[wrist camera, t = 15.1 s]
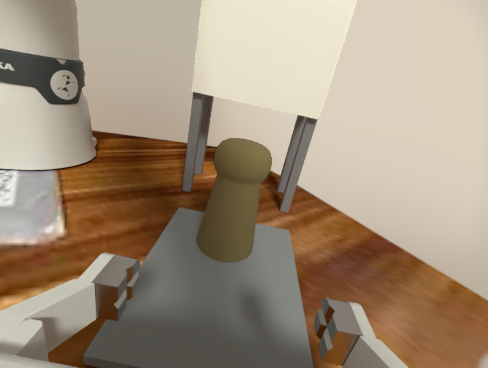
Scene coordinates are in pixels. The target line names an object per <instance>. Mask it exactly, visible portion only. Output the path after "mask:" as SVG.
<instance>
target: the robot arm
mask: <svg viewBox="0 0 488 368" xmlns="http://www.w3.org/2000/svg"><path fill="white" fill-rule="evenodd" d="M84 76H85V72H84V69H83V62H82V61H80V60H79V43H78V24H77V7H76V3H75V0H0V169H17V170H45V169H57V168H64V167H70V166H75V165H79V164H82V163H85V162H87V161H89V160H91V159H93V158H94V157H95V156H96V149H95V146H96V145H97V140H96V138H95V137H93V135H92V128H91V122H90V115H89V109H88V103H87V100H86V98H85V96H84V95H83V93H82V87H84V86H85V84H84V83H85V82H84ZM139 267H140V261H139V260H136V259H131V258H127V257H123V256H118V255H113V254H108V253H103V254H101V255H100V256H99V257H98V258H97V259H96V260H95V261H94V262H93V263H92V264H91V265H90V267H89V268H88V269H87V270H86V271H85V272H84V273H83V274H82V275H81V276H80V277H79V278H78V279H77V280H75V279H73V280H71V281H68V282H66V283H64V284H61V285H59V286H57V287H54V288H52V289H50V290H48V291H45V292H43V293H41V294H38V295H36V296H34V297H32V298H29V299H27V300H25V301H22V302H20V303H18V304H15V305H13V306H11V307H9V308H6V309H4V310H2V311H0V368H78V367H73V366H68V365H63V364H58V363H52V362H49V358H48V353H49V352H50V351H51V350H53V349H54V348H56V347H57V346H59V345H60V344H61V343H63V342H64V341H66V340H67V339H69V338H70V337H71V336H73V335H74V334H76V333H77V332H79V331H80V330H81V329H83V328H84V327H86V326H87V325H88V324H90V323H91V322H93V321H94V320H96V318H101V319H107V320H114V321H118V320H119V319H120V317H121V315H122V314H123V312H124V310H125V309H126V307H127V301H128V300H129V299H131V298H132V297H133V295H134V293H135V291H136V289H137V286H138V282H139V274H138V273H137V271H138V269H139ZM321 306H322V309H320V310H318V311H317V314H316V316H315V331H316V335H317V336H318V337H319V339H320V343H319V350H320V354H321V359H322V361H323V362H328V363H332V364H336V365H341V366H343V368H408V367H407V366H406V365H405V364H404V363H403V362H402V361H401V360H400V359H399V358H398V357H397V356H396V355H395V354H394V353H393V352H392V351H391V350H390V349H389V348H388V347H387V346H386V345H385V344H384V343H383V342H382V341H381V340H377V339H376V337H375V335H374V333H373V330H372V328H371V326H370V324H369V322H368V319H367V317H366V315H365V313H364V311H363V308H362V306H361V305H360V304H358V303H352V302H346V301H341V300H336V299H331V298H326V297H325V298H324V299H323V300H322V302H321Z"/></svg>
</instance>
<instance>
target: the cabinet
mask: <svg viewBox="0 0 488 368" xmlns="http://www.w3.org/2000/svg"><path fill="white" fill-rule="evenodd" d="M356 3H357V0H202V3H201V11H200V21H199V29H198V39H197V47H196V57H195V65H194V75H193V84H192V92H193V100H192V108H191V117H190V126H189V135H188V143H187V152H186V160H185V169H184V178H183V187H182V190H183V191H188V192H190V191H191V190H192V186H193V179H194V174H198V175H201V174H202V172H203V165H204V158H205V151H206V144H207V138H208V129H209V124H210V117H211V110H212V103H213V97H219V98H223V99H228V100H233V101H237V102H242V103H247V104H251V105H256V106H260V107H265V108H269V109H274V110H278V111H282V112H287V113H292V114H296V115H298V116H297V120H296V123H295V127H294V131H293V134H292V138H291V141H290V145H289V148H288V152H287V155H286V159H285V162H284V166H283V170H282V173H281V176H280V180H279V183H278V187H277V192H282V193H284V194H283V197H282V201H281V204H280V207H279V208H280V211H281V212H286V213H288V211H289V208H290V205H291V201H292V198H293V195H294V192H295V189H296V186H297V182H298V179H299V176H300V173H301V170H302V167H303V163H304V160H305V157H306V154H307V151H308V148H309V144H310V141H311V138H312V135H313V132H314V129H315V125H316V122H317V119H320V115H321V112H322V109H323V106H324V103H325V100H326V97H327V94H328V90H329V87H330V84H331V81H332V78H333V75H334V72H335V68H336V65H337V62H338V59H339V56H340V53H341V50H342V47H343V43H344V40H345V37H346V34H347V31H348V28H349V25H350V22H351V18H352V15H353V12H354V9H355V6H356Z"/></svg>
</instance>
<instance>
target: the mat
mask: <svg viewBox="0 0 488 368" xmlns="http://www.w3.org/2000/svg"><path fill="white" fill-rule="evenodd" d="M204 213H205V212H200V211H196V210H191V209H186V208H181V207H179V208H178V209H177V211H176V212H175V214H174V216H173V217H172V219H171V220H170V222H169V223H168V225H167V226H166V228H165V229H164V231H163V233H162V234H161V236H160V237H159V239H158V240H157V242H156V243H155V245H154V246H153V248H152V249H151V251H150V253H149V254H148V256H147V257H146V259H145V260H144V262H143V263H142V265H141V266H140V268H139V269H138V271H137V273H138V274H139V282H138V286H137V289H136V291H135V293H134V295H133V297H132V298H131V299H129V300H128V301H127V307H126V309H125V310H124V312H123V314H122V315H121V317H120V319H119V320H118V321H114V320H107V319H106V320H105V322H104V323H103V325H102V327H101V328H100V330H99V331H98V333H97V334H96V336H95V337H94V339H93V340H92V342H91V343H90V345H89V347H88V348H87V350H86V351H85V353H84V354H83V364H84V365H89V366H94V367H99V368H314V367H313V361H312V356H311V350H310V344H309V339H308V333H307V328H306V322H305V316H304V311H303V305H302V300H301V294H300V288H299V283H298V277H297V271H296V266H295V260H294V255H293V249H292V243H291V238H290V232H289V230H285V229H280V228H276V227H271V226H266V225H262V224H257V223H256V226H255V235H254V244H253V250H252V253H251V254H250V255H249V257H248V258H246V259H244V260H242V261H239V262H233V263H228V262H220V261H217V260H213V259H211V258H210V257H208V256H206V255H204V253H203V252H202V251H201V250H200V249H199V248H198V245H197V243H196V241H197V234H198V231H199V228H200V225H201V222H202V219H203V216H204Z"/></svg>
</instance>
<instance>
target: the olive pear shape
mask: <svg viewBox="0 0 488 368" xmlns="http://www.w3.org/2000/svg"><path fill="white" fill-rule="evenodd" d="M214 165H215V170H216V171H217V176H216V180H215V183H214V186H213V189H212V192H211V195H210V198H209V201H208V204H207V207H206V210H205V213H204V216H203V219H202V222H201V225H200V228H199V231H198V234H197V241H196V243H197V245H198V248H199V249H200V250H201V251H202V252H203V253H204V255H206V256H208V257H210V258H211V259H213V260H217V261H220V262H228V263H233V262H239V261H242V260H244V259H246V258H248V257H249V255H250V254H251V253H252V250H253V244H254V235H255V226H256V218H257V209H258V201H259V192H260V184H261V182H262V181H264V180H265V179H266V178H267V176H268V174H269V172H270V169H271V165H272V157H271V154H270V152H269V150H268V149H267V148H266V147H265V146H263V145H261V144H259V143H257V142H254V141H251V140H247V139H240V138H230V139H226V140H223V141H222V142H221V143H220V145H218V147H217V149H216V151H215V155H214Z"/></svg>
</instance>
